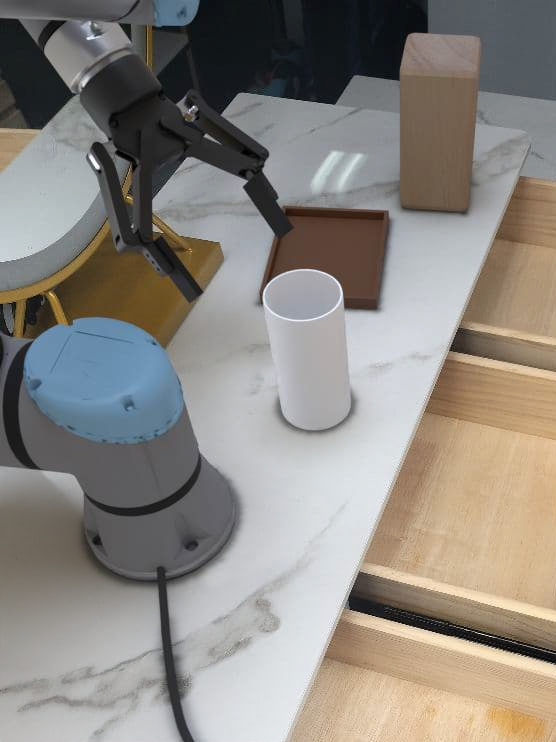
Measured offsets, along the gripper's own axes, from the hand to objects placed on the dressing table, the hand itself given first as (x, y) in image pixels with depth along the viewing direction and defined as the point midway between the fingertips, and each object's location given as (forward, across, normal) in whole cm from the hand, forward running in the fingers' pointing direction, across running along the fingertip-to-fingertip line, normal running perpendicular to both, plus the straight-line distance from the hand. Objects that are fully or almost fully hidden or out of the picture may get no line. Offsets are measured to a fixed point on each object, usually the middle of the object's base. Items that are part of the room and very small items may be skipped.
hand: (243, 265), depth 87 cm
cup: (+17, 0, +5) cm, 18 cm away
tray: (+5, +21, +17) cm, 27 cm away
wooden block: (+7, +43, +15) cm, 46 cm away
